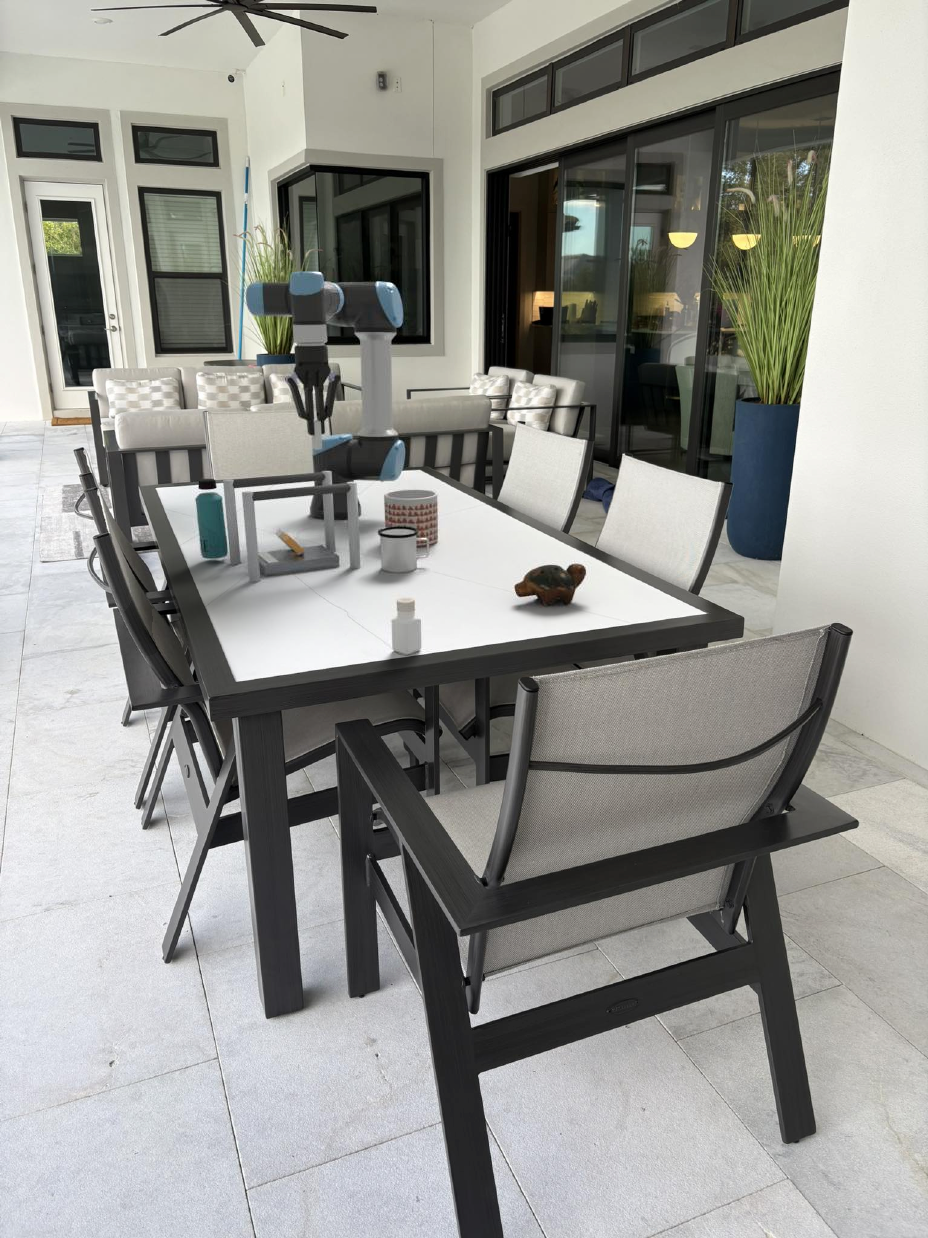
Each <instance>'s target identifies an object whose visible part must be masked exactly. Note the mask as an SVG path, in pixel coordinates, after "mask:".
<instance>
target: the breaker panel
mask: <svg viewBox="0 0 928 1238" xmlns="http://www.w3.org/2000/svg"><path fill="white" fill-rule="evenodd" d="M301 548H302V549H303V550H304V551H303V552H304V555H301V554H300V555H298V554H297V553H296V552H295V551H294V550H292V549H290V548H287V549H278V550H273V551H272V550H271V551H263V552H258V557H259V569H260V574H261V575H263V576H264V577H271V576H279V575H284V574H285V575H287V574H292V573H299V572H300V573H301V572H308V571H314V570H315V571H316V570H323V569H329V568H336V567H340V555H338V554H336V553H335V552H332V551H331V550H329V549H328V548H326V546H325V545H322V544H320V545H311V546H303V547H302V546H301Z"/></svg>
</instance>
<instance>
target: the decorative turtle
mask: <svg viewBox="0 0 928 1238" xmlns="http://www.w3.org/2000/svg"><path fill="white" fill-rule="evenodd" d="M586 576H587V569H586V567H585V566H584V564H581V563H571V564H569V565H568V566H567V568H566V569H564V568H563V567H562V566H560V565H558V564H545V565H540V566H538V567H536V568H535V567H534V568H533V569H531V570H529V571H528V572H526V574H525V575H524V576H523V579H522V580H521V581H520V582H518V583H516V584H514V587H513V589H514V591H515V594H516V595H517V597H519V598H525V597H526V598H527V597H532V596H536V598H537V599H539V600H541V601H542V604H543V605H545V606H546V607H549V606H551V605H552V604H553V603H554V602H555V601H556V600H557V599H559V600H560V601H561V603H563V604H564V605H566V606H568V605H570V604H571V603H572V601H573V599H574V596H575V593H576V590H577V589H578V588H579V586H580V585H581V584H583V581H584V580H585V579H586Z"/></svg>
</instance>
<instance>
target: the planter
mask: <svg viewBox="0 0 928 1238" xmlns="http://www.w3.org/2000/svg"><path fill="white" fill-rule="evenodd" d="M383 499H384V500H383V501H384V503H383V505H384V528H385V527H392V526H407V527H413V528H416V529H418V531H419V533H418V534H417V535H416V538H426V539H428V541H429V547H430V546H434V545H436V544H437V543H438V541H439V529H438V528H439V526H438V525H439V523H438V522H439V520H438V519H439V516H438V515H439V513H438V509H439V508H438V506H439V505H438V493H437V492H436V491H433V490H427V489H416V488H414V489H413V488H412V489H399V490H392V491H387V492H385V493H384V495H383ZM416 546H417V549H418V548H427V541H426V540H422V541H416Z"/></svg>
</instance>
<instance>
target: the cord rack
mask: <svg viewBox="0 0 928 1238" xmlns="http://www.w3.org/2000/svg"><path fill="white" fill-rule="evenodd" d="M314 481H322V486H314V485H313V486H302V487H291V488H280V489H279V488H278V489H269V490H268V489H267V490H260V491H259V490H258V491H242V492H241V495H242V496H241V498H242V508H243V509H242V510H243V519H244V520H243V521H244V533H245V543H246V544H245V545H246V555H247V557H246V558H247V568H248V578H249V579H248V580H249V583H259V582H261V572H260V569H259V557H258V553H259V549H258V545H259V544H258V534H257V533H258V532H257V522H256V510H255V502H260V501H261V502H262V501H267V500H268V501H269V500H280V499H289V498H300V497H308V496H309V497H311V496H312V497H313V495H322V494H323V507H324V519H323V523H324V539H325V547H326V548H328V549H329V550H331V551H332V552H334V553H335V552H336V537H335V536H336V534H335V533H336V532H335V520H334V511H333V493H342V492H347V508H348V519H347V528H348V529H347V530H348V546H349V547H348V548H349V549H348V550H349V551H348V552H349V568H351V569H360V568H361V550H360V549H361V548H360V547H361V545H360V528H359V527H360V526H359V525H360V524H359V516H358V499H359V498H357V497H358V482H357V481H354V482H347V483H343V484H333V485H332V473H331V471H322V472H318V473H314V472H308V473H296V474H286V475H285V474H283V475H274V476H273V475H272V476H263V477H251V478H250V477H249V478H238V479H227V478H226V479H222V484H223V496H224V505H225V516H226V529H227V538H228V539H227V541H228V552H229V558H230V559H229V560H230V564H231V565H233V566H234V565H236V566H237V565H240V564H242V560H241V550H240V539H239V538H240V537H239V535H240V534H239V526H238V516H237V515H238V512H237V503H236V491H235V489H240V488H241V489H243V488H252V487H253V488H256V487H264V486H265V487H266V486H275V485H287V484H288V485H289V484H298V483H311V482H314Z"/></svg>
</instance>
